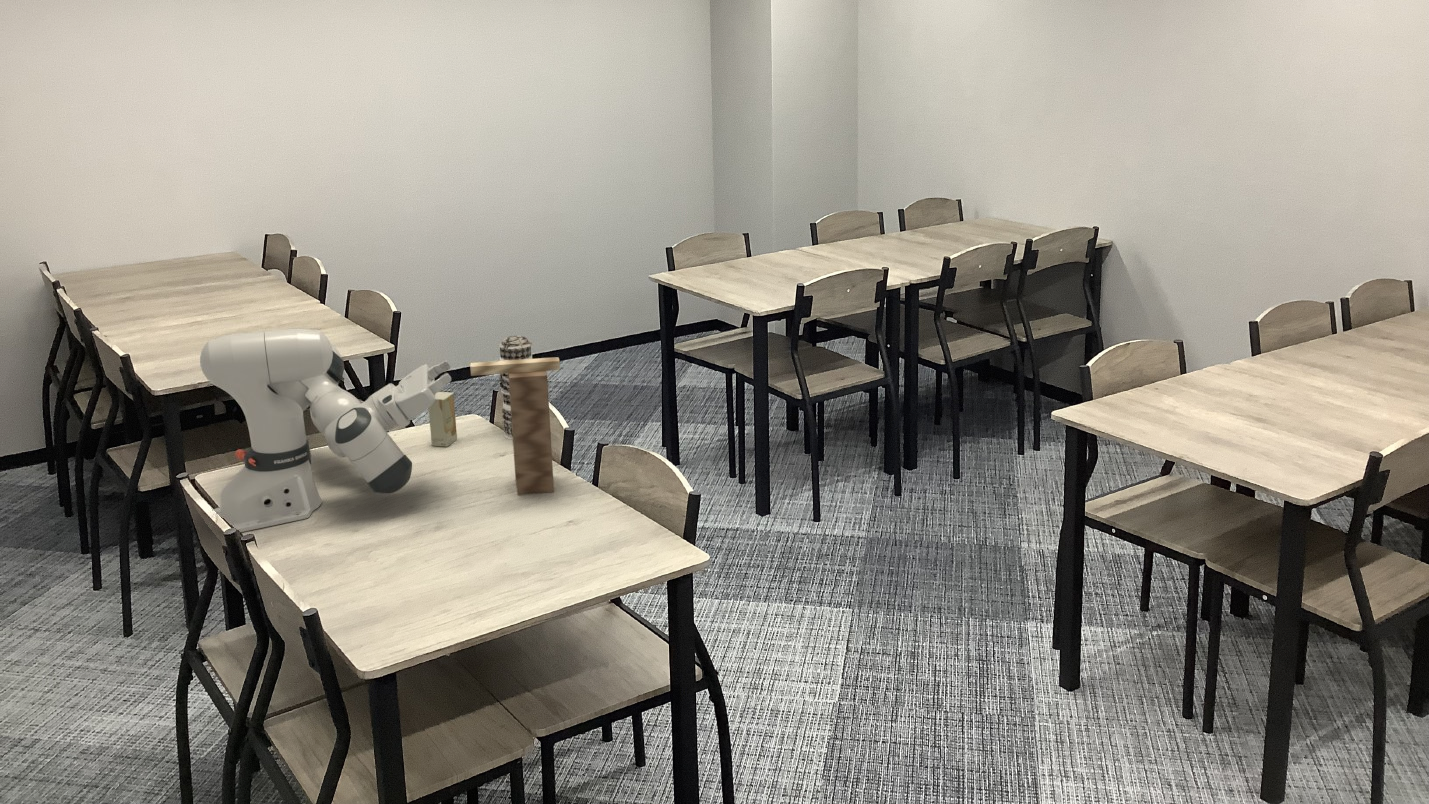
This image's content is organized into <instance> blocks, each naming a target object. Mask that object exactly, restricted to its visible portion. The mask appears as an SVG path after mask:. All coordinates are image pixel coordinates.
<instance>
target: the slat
mask: <svg viewBox="0 0 1429 804" xmlns="http://www.w3.org/2000/svg"><path fill="white" fill-rule="evenodd" d="M469 367H470V377H471V376H488V375H501V374H505V373H520V372H534V371H546V372H547V371H560V370H561V364H560V358H559V357H557V356H556V357H541V358H539V357H538V358H532V359H523V360H508V361H499V360H496V361H494V360H492V361H481V362H480V361H479V362H470V366H469Z"/></svg>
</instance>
